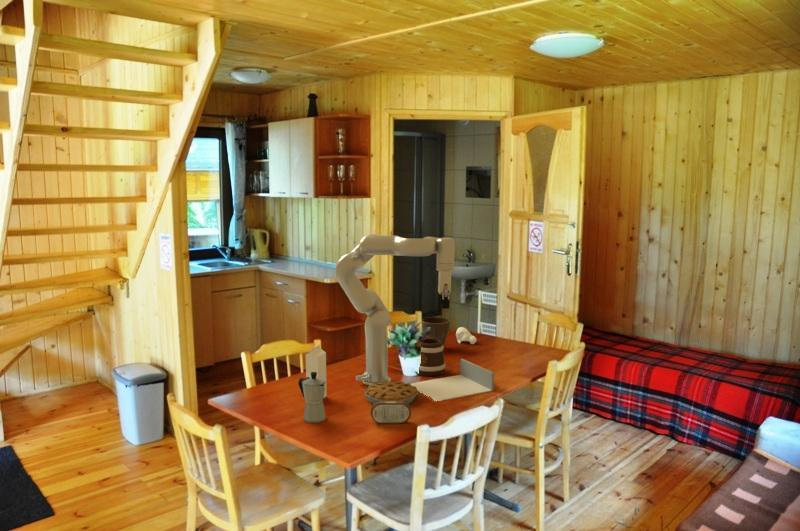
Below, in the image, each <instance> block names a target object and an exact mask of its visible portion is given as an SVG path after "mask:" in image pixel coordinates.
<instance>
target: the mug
mask: <svg viewBox="0 0 800 531" xmlns="http://www.w3.org/2000/svg"><path fill="white" fill-rule="evenodd" d="M424 339H425V338H424ZM444 346H445V345H444ZM444 346H443V345H442V342H441V341H440V340H437V339H425V340H424V341H423V342H421V364H420V367H419V376H422V377H437V376H439V377H440V376H441V375H443V374H445V373H446V366H447V365H446V362H445V356H444V349H445V347H444Z"/></svg>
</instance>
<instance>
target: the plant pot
mask: <svg viewBox="0 0 800 531" xmlns="http://www.w3.org/2000/svg"><path fill="white" fill-rule="evenodd" d="M421 323H422V330H423V332H424V330H425V329H426V327H431V331H430V334H429V337H428V338H427V339H437V340H440V341H441V342H442V345H443V346H445V344H446V341H447V338H448V333H449V328H450V323H451V320H450V318H447V317H442V316H441V317H440V316H439V317H438V316H431V317H424V318H422V319H421Z"/></svg>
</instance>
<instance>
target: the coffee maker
mask: <svg viewBox="0 0 800 531" xmlns="http://www.w3.org/2000/svg"><path fill="white" fill-rule="evenodd" d="M316 375H317V372H311V378H310V377H307V378H306V377H301V378H299V380H298V384H297V385H298V387H299V390H300V392H301V394H302V397H303V398H304V399H305V405H304V414H303V421H304V422H306V423H309V424H313V423H314V424H317V423H318V424H319V423H321V422H324V421H326V419H327V418H326V413H325V405H324V400H323V399H325V398H324V391H325V383H326V384H327V380H326V381H325V380H323V379H319V378H316Z"/></svg>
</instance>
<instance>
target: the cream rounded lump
mask: <svg viewBox="0 0 800 531" xmlns="http://www.w3.org/2000/svg"><path fill="white" fill-rule="evenodd" d="M455 336H456V337H455V338H456V340H457V342H458V344H461V343H462V342H463V341H464V342H469V343H470V345H475V343H476V342H477V337H476V336H474V335H472V334H471V332H470V331H469V330H468V329H467V328H466V327H463V326H461V327H458V328H457V329H456V333H455Z"/></svg>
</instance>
